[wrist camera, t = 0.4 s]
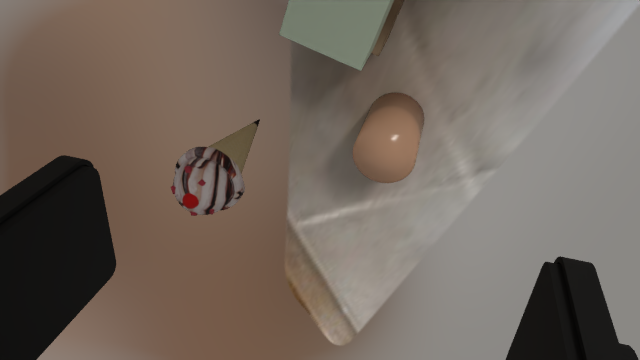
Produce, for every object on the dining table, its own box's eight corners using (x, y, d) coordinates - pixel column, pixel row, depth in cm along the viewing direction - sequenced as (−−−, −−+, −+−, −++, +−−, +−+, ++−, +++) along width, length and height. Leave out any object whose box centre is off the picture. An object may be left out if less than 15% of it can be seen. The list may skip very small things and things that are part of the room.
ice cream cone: (291, 146, 50) (229, 239, 38) (239, 146, 52) (164, 235, 39) (280, 91, 47) (210, 173, 35) (225, 94, 49) (140, 173, 36)
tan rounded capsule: (381, 83, 44) (366, 117, 38) (433, 106, 44) (426, 143, 38) (360, 130, 47) (344, 167, 41) (409, 151, 47) (400, 192, 41)
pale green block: (326, -68, 34) (305, -57, 30) (407, -33, 34) (397, -18, 30) (300, 15, 38) (278, 34, 34) (373, 47, 37) (360, 70, 33)
